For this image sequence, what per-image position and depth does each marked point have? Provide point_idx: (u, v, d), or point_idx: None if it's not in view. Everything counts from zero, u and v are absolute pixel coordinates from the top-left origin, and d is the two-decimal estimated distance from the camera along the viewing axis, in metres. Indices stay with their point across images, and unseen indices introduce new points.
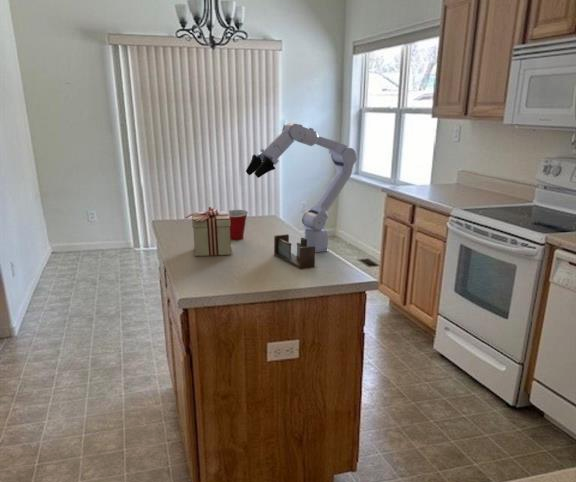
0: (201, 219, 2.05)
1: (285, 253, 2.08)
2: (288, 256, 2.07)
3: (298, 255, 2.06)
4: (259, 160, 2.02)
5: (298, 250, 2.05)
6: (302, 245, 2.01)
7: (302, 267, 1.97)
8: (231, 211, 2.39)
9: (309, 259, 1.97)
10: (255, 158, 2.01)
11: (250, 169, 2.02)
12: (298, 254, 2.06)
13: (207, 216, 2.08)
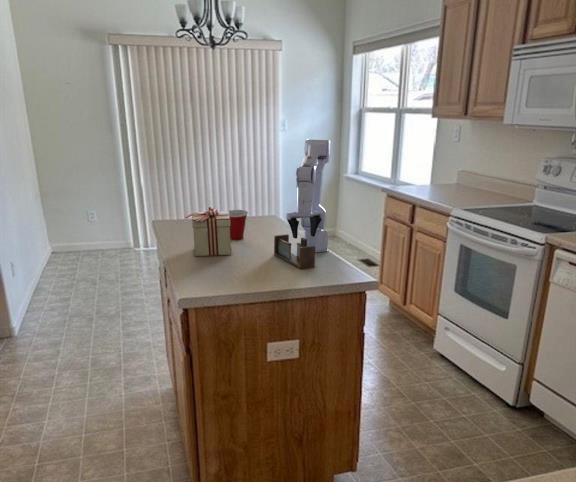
0: (201, 219, 2.05)
1: (285, 253, 2.08)
2: (288, 256, 2.07)
3: (298, 255, 2.06)
4: None
5: (298, 250, 2.05)
6: (302, 245, 2.01)
7: (302, 267, 1.97)
8: (231, 211, 2.39)
9: (309, 259, 1.97)
10: None
11: None
12: (298, 254, 2.06)
13: (207, 216, 2.08)
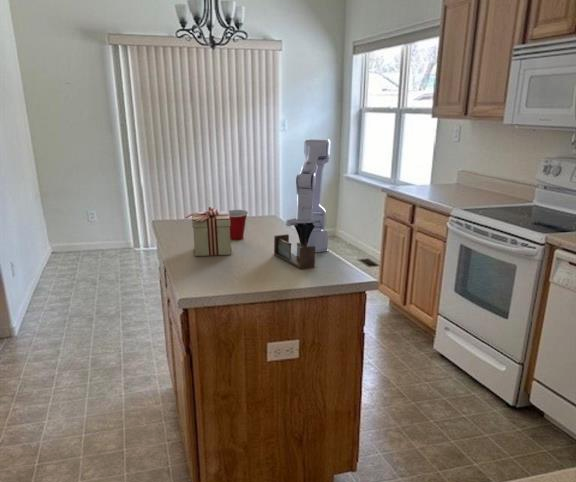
0: (201, 219, 2.05)
1: (285, 253, 2.08)
2: (288, 256, 2.07)
3: (298, 255, 2.06)
4: None
5: (298, 250, 2.05)
6: (302, 245, 2.01)
7: (302, 267, 1.97)
8: (231, 211, 2.39)
9: (309, 259, 1.97)
10: None
11: None
12: (298, 254, 2.06)
13: (207, 216, 2.08)
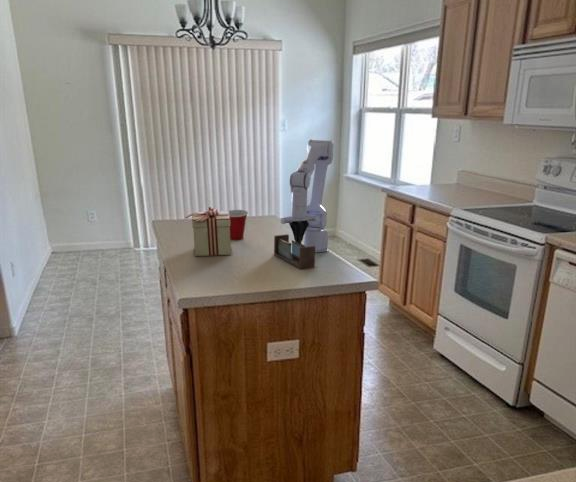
0: (201, 219, 2.05)
1: (285, 253, 2.08)
2: (288, 256, 2.07)
3: (293, 252, 2.09)
4: None
5: (293, 247, 2.08)
6: (297, 243, 2.05)
7: (302, 267, 1.97)
8: (231, 211, 2.39)
9: (309, 259, 1.97)
10: None
11: None
12: (293, 251, 2.09)
13: (207, 216, 2.08)
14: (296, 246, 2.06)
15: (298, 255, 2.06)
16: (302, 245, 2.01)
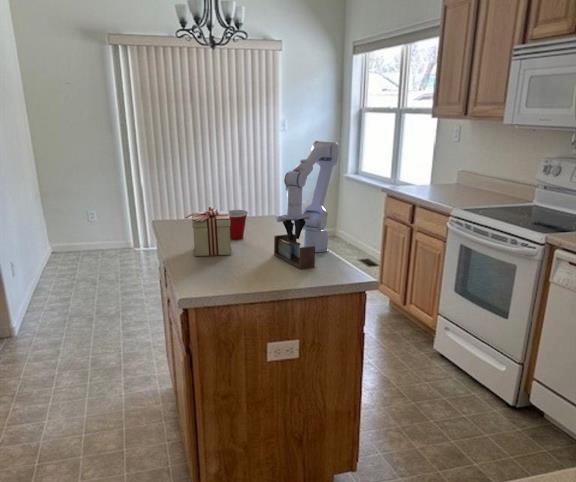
0: (201, 219, 2.05)
1: (285, 253, 2.08)
2: (288, 256, 2.07)
3: None
4: None
5: None
6: (292, 240, 2.08)
7: (302, 267, 1.97)
8: (231, 211, 2.39)
9: (309, 259, 1.97)
10: None
11: None
12: None
13: (207, 216, 2.08)
14: (291, 244, 2.09)
15: (293, 253, 2.09)
16: (297, 243, 2.04)
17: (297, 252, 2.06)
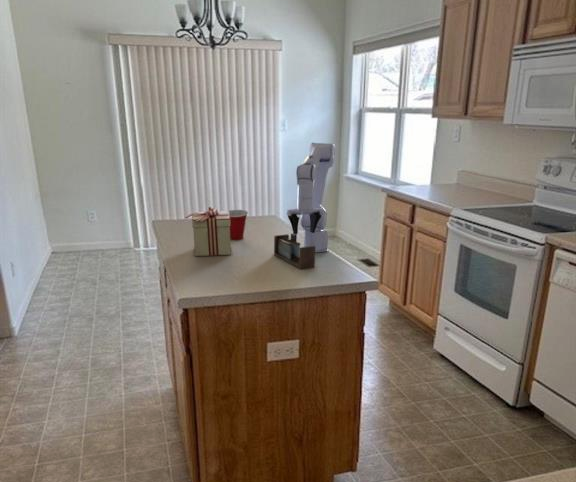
0: (201, 219, 2.05)
1: (285, 253, 2.08)
2: (288, 256, 2.07)
3: None
4: None
5: None
6: (292, 240, 2.08)
7: (302, 267, 1.97)
8: (231, 211, 2.39)
9: (309, 259, 1.97)
10: None
11: None
12: None
13: (207, 216, 2.08)
14: (291, 244, 2.09)
15: (293, 253, 2.09)
16: (297, 243, 2.04)
17: (297, 252, 2.06)
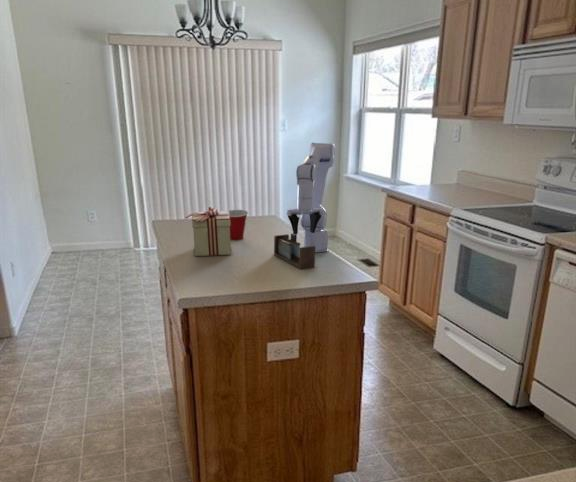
0: (201, 219, 2.05)
1: (285, 253, 2.08)
2: (288, 256, 2.07)
3: None
4: None
5: None
6: (292, 240, 2.08)
7: (302, 267, 1.97)
8: (231, 211, 2.39)
9: (309, 259, 1.97)
10: None
11: None
12: None
13: (207, 216, 2.08)
14: (291, 244, 2.09)
15: (293, 253, 2.09)
16: (297, 243, 2.04)
17: (297, 252, 2.06)
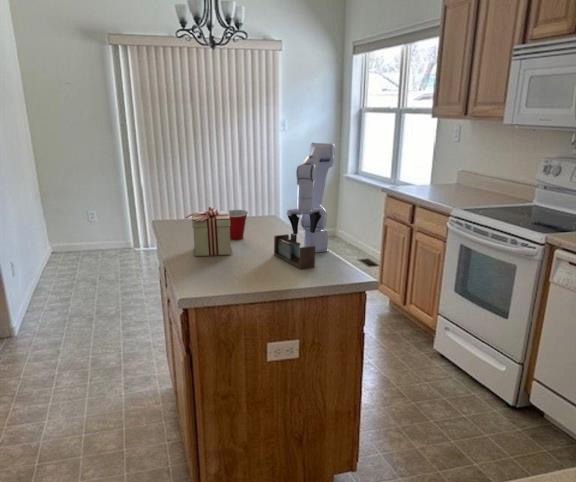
0: (201, 219, 2.05)
1: (285, 253, 2.08)
2: (288, 256, 2.07)
3: None
4: None
5: None
6: (292, 240, 2.08)
7: (302, 267, 1.97)
8: (231, 211, 2.39)
9: (309, 259, 1.97)
10: None
11: None
12: None
13: (207, 216, 2.08)
14: (291, 244, 2.09)
15: (293, 253, 2.09)
16: (297, 243, 2.04)
17: (297, 252, 2.06)
